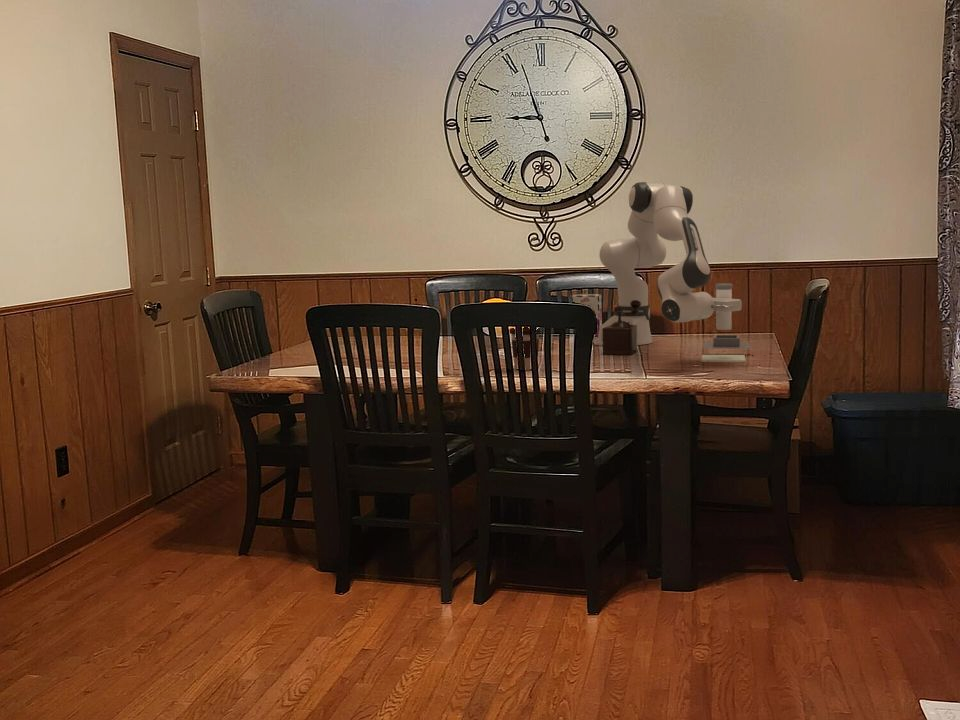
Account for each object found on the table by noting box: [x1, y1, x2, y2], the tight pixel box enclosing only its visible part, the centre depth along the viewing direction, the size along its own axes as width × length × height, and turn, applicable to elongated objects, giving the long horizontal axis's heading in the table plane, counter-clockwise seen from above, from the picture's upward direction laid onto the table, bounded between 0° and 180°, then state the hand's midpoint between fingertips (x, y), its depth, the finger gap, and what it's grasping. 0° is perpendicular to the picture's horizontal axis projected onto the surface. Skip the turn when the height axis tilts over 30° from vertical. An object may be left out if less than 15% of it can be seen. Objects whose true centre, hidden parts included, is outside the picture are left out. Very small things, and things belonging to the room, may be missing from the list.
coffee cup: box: [509, 327, 541, 371], centre depth 342 cm, size 10×10×15 cm
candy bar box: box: [571, 293, 603, 337], centre depth 417 cm, size 11×5×16 cm, turn 71°
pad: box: [701, 353, 746, 363], centre depth 351 cm, size 14×14×1 cm
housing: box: [702, 334, 751, 350], centre depth 374 cm, size 16×16×4 cm
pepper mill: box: [602, 300, 641, 356], centre depth 372 cm, size 16×11×18 cm
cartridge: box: [715, 282, 733, 331], centre depth 348 cm, size 5×5×15 cm
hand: (725, 302), depth 349 cm, fingers closed on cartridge, 5 cm apart
